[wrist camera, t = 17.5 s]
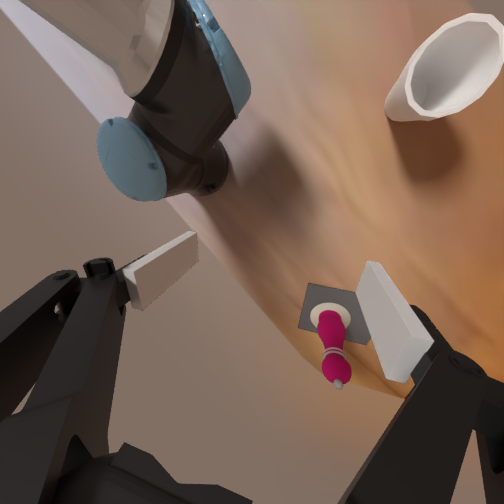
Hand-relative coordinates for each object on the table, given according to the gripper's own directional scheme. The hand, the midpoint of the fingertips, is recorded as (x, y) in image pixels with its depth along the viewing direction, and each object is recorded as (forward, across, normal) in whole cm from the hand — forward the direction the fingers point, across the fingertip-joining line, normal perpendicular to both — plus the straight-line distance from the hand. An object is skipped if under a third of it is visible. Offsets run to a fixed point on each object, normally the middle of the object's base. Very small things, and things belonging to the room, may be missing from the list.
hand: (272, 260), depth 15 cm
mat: (+35, +17, -32) cm, 50 cm away
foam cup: (+35, +16, +18) cm, 42 cm away
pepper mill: (+34, +15, -33) cm, 50 cm away
